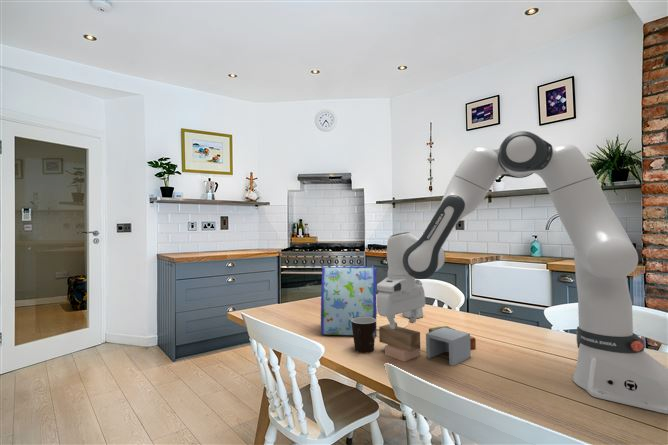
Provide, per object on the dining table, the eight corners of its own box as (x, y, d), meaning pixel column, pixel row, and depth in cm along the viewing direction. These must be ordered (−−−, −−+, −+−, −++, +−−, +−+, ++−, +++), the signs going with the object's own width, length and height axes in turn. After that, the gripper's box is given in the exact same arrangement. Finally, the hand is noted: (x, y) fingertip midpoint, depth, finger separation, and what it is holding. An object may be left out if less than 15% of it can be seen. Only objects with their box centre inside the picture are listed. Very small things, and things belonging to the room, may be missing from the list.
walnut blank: (389, 338, 123) (389, 324, 123) (420, 347, 113) (419, 332, 113) (379, 341, 120) (379, 326, 120) (410, 351, 110) (410, 335, 110)
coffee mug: (363, 343, 127) (362, 315, 127) (382, 349, 121) (381, 319, 121) (340, 352, 119) (339, 322, 119) (359, 358, 113) (358, 327, 113)
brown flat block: (455, 353, 117) (454, 340, 117) (428, 339, 132) (427, 327, 132) (476, 350, 119) (475, 337, 119) (447, 336, 135) (446, 325, 135)
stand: (420, 355, 115) (420, 346, 115) (404, 361, 110) (404, 352, 110) (401, 349, 121) (400, 340, 121) (385, 354, 116) (384, 345, 116)
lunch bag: (377, 325, 150) (376, 263, 150) (378, 338, 133) (376, 268, 133) (325, 325, 152) (323, 264, 152) (319, 337, 135) (318, 269, 135)
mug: (402, 313, 168) (401, 292, 168) (422, 314, 167) (421, 292, 167) (403, 320, 156) (403, 298, 156) (425, 321, 155) (424, 298, 155)
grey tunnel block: (470, 357, 112) (470, 333, 112) (452, 365, 106) (452, 340, 106) (444, 349, 119) (444, 327, 119) (426, 357, 113) (425, 333, 113)
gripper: (413, 278, 125) (415, 317, 124) (372, 285, 112) (374, 330, 111) (429, 279, 120) (430, 320, 119) (388, 287, 107) (389, 334, 106)
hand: (403, 325), depth 115 cm, fingers open, 8 cm apart
